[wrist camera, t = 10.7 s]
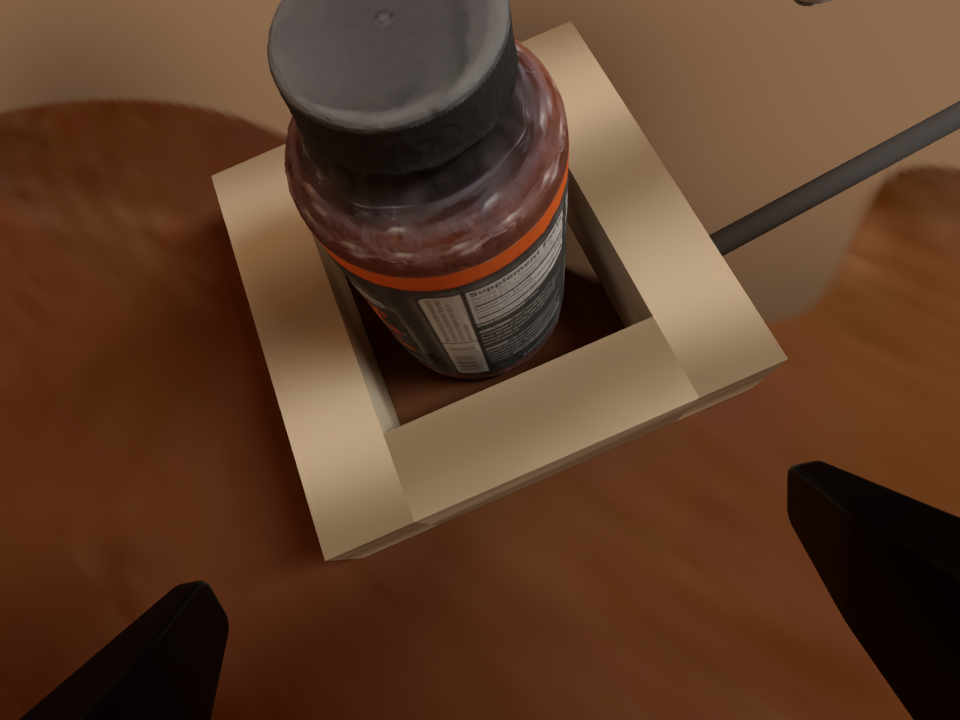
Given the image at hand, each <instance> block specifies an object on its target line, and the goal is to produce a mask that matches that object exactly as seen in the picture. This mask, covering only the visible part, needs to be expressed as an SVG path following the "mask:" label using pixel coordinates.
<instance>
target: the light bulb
mask: <svg viewBox="0 0 960 720" xmlns="http://www.w3.org/2000/svg"><path fill="white" fill-rule="evenodd" d="M794 1H795V2H796V3H797V4H799V5H802V6H812V5H814V4H819V3H824V2H828V1H831V0H794Z"/></svg>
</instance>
